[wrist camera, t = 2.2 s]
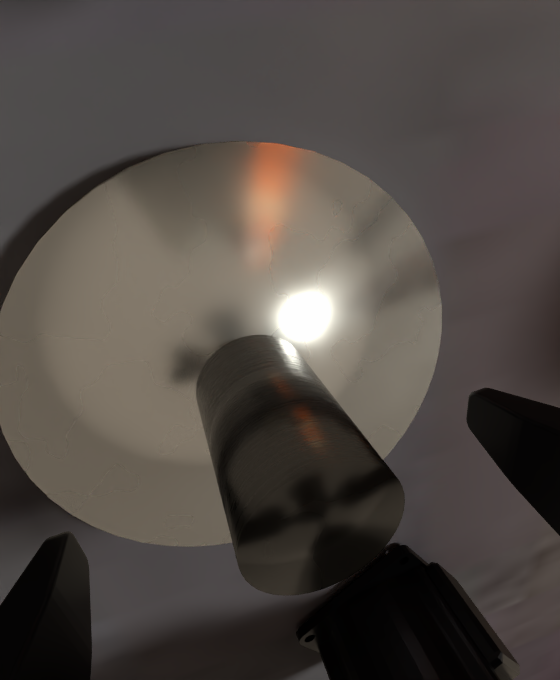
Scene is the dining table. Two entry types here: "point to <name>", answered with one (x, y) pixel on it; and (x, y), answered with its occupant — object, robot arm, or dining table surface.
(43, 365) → the lid
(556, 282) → the dining table surface
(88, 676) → the robot arm
